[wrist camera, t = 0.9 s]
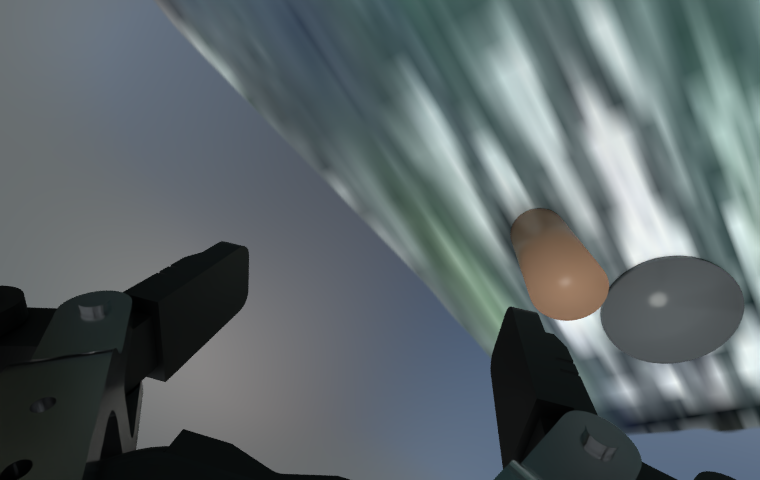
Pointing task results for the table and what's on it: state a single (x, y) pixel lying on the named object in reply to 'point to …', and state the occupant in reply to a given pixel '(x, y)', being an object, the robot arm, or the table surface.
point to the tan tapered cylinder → (557, 267)
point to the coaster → (672, 309)
